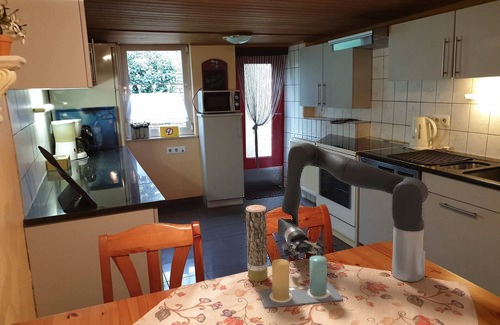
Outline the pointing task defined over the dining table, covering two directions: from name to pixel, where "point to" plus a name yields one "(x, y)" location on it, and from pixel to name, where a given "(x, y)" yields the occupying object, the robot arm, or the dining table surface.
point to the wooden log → (256, 242)
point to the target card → (299, 297)
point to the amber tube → (280, 279)
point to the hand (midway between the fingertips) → (309, 256)
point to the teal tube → (318, 276)
